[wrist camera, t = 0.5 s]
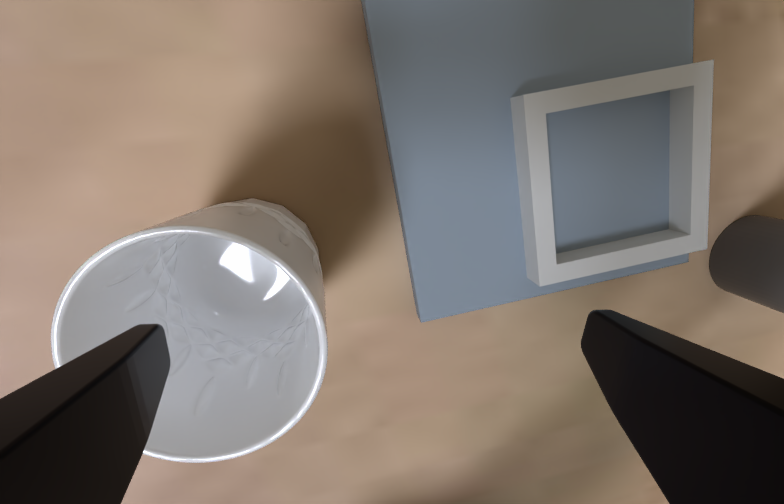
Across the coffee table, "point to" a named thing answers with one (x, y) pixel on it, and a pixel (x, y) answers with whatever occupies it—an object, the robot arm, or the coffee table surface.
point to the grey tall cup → (751, 260)
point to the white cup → (211, 323)
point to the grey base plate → (541, 142)
